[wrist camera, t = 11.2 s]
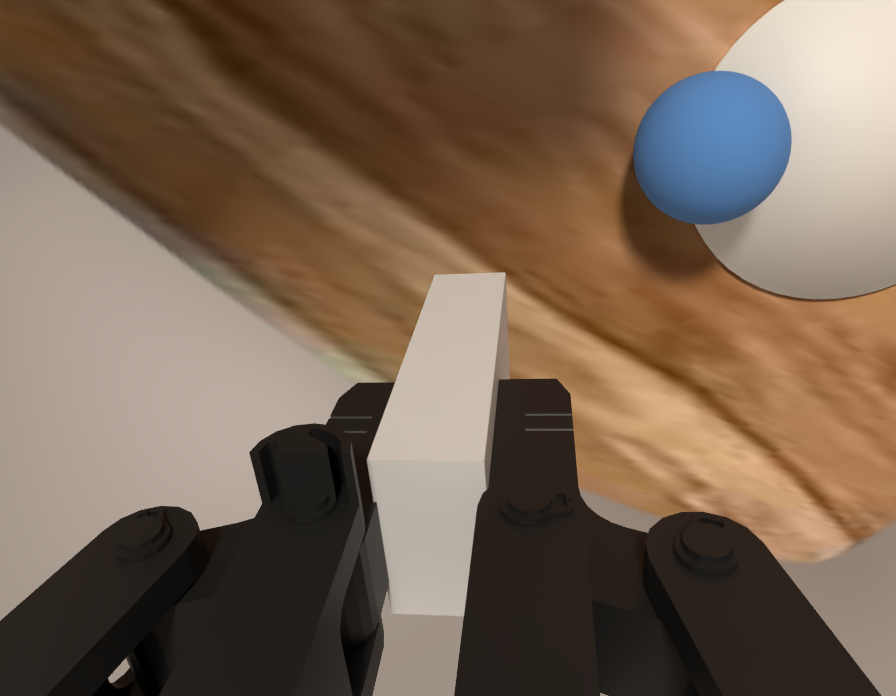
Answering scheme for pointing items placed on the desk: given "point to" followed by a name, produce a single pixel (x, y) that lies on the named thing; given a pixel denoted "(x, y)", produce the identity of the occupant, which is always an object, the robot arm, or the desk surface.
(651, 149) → the ball
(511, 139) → the desk surface
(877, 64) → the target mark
